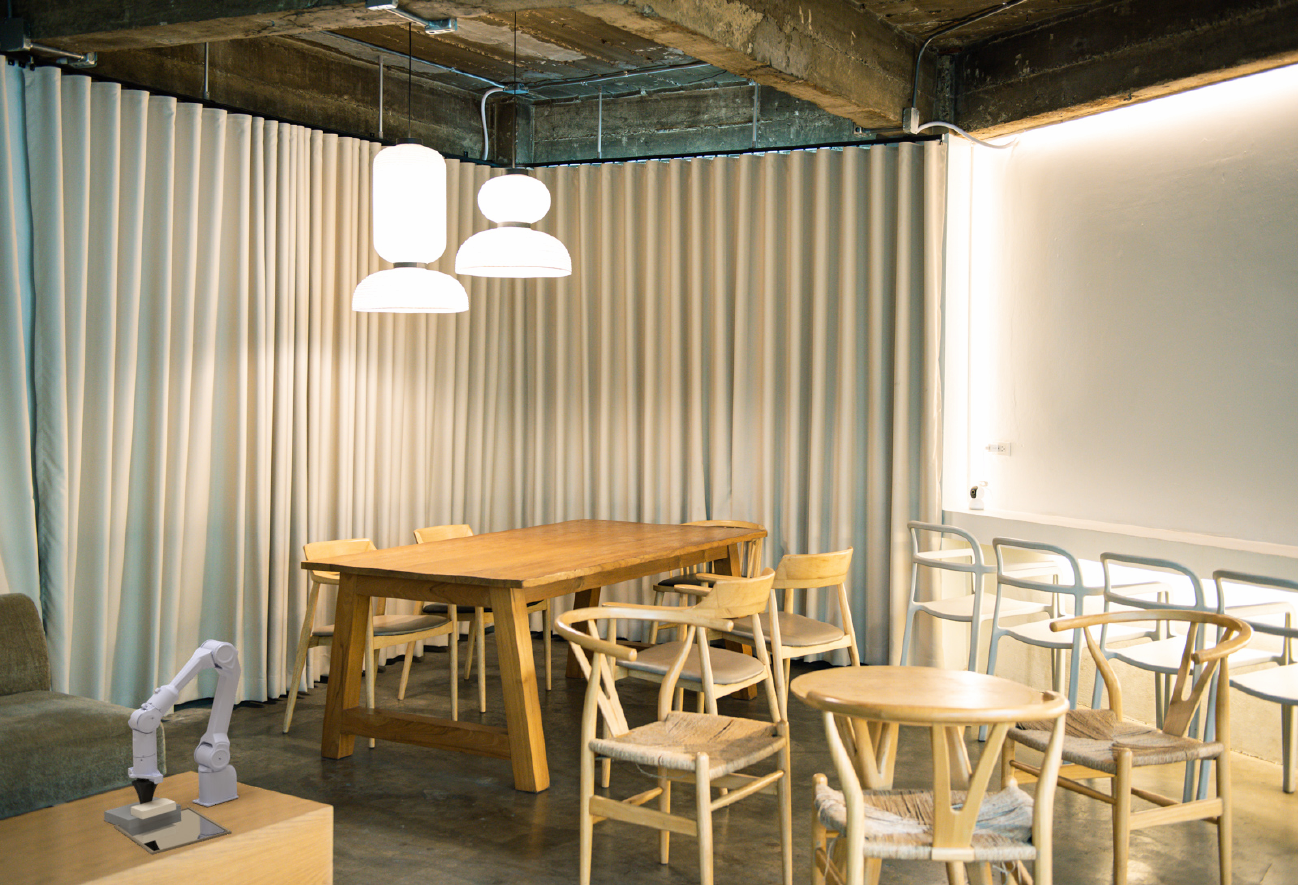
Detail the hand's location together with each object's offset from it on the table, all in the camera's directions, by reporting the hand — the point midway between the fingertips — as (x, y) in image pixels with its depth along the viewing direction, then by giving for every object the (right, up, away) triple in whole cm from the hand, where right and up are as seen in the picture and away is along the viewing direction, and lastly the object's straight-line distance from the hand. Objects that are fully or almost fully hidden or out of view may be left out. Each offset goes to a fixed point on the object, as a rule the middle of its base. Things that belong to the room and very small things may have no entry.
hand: (146, 806), depth 281 cm
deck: (-1, -3, +1) cm, 4 cm away
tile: (+3, -1, -2) cm, 4 cm away
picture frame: (+11, -4, -10) cm, 15 cm away
